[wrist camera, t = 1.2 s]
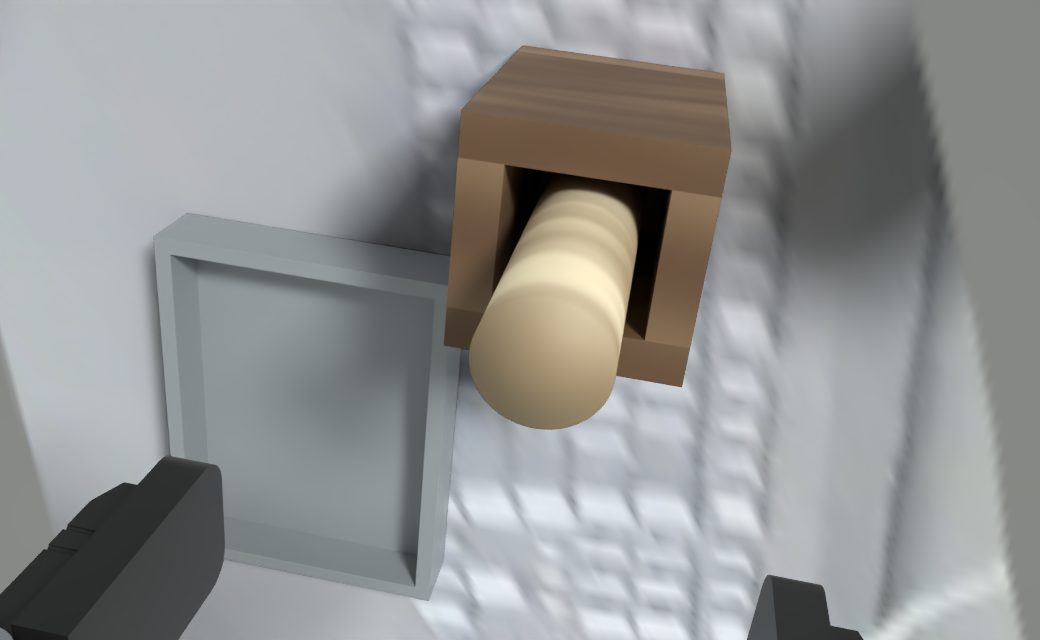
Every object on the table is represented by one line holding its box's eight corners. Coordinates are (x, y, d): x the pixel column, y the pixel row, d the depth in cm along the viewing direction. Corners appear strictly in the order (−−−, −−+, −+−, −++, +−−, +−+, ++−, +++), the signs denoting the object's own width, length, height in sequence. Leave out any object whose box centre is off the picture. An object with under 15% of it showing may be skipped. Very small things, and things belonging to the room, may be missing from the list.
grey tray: (186, 212, 36) (153, 236, 34) (468, 259, 35) (452, 286, 33) (205, 513, 43) (177, 549, 40) (443, 561, 41) (428, 600, 39)
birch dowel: (565, 114, 31) (474, 286, 19) (657, 127, 31) (626, 312, 18) (555, 201, 32) (463, 415, 20) (642, 214, 32) (604, 441, 20)
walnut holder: (522, 45, 31) (461, 109, 23) (723, 73, 31) (731, 150, 23) (503, 231, 34) (443, 345, 26) (687, 261, 34) (681, 387, 26)
